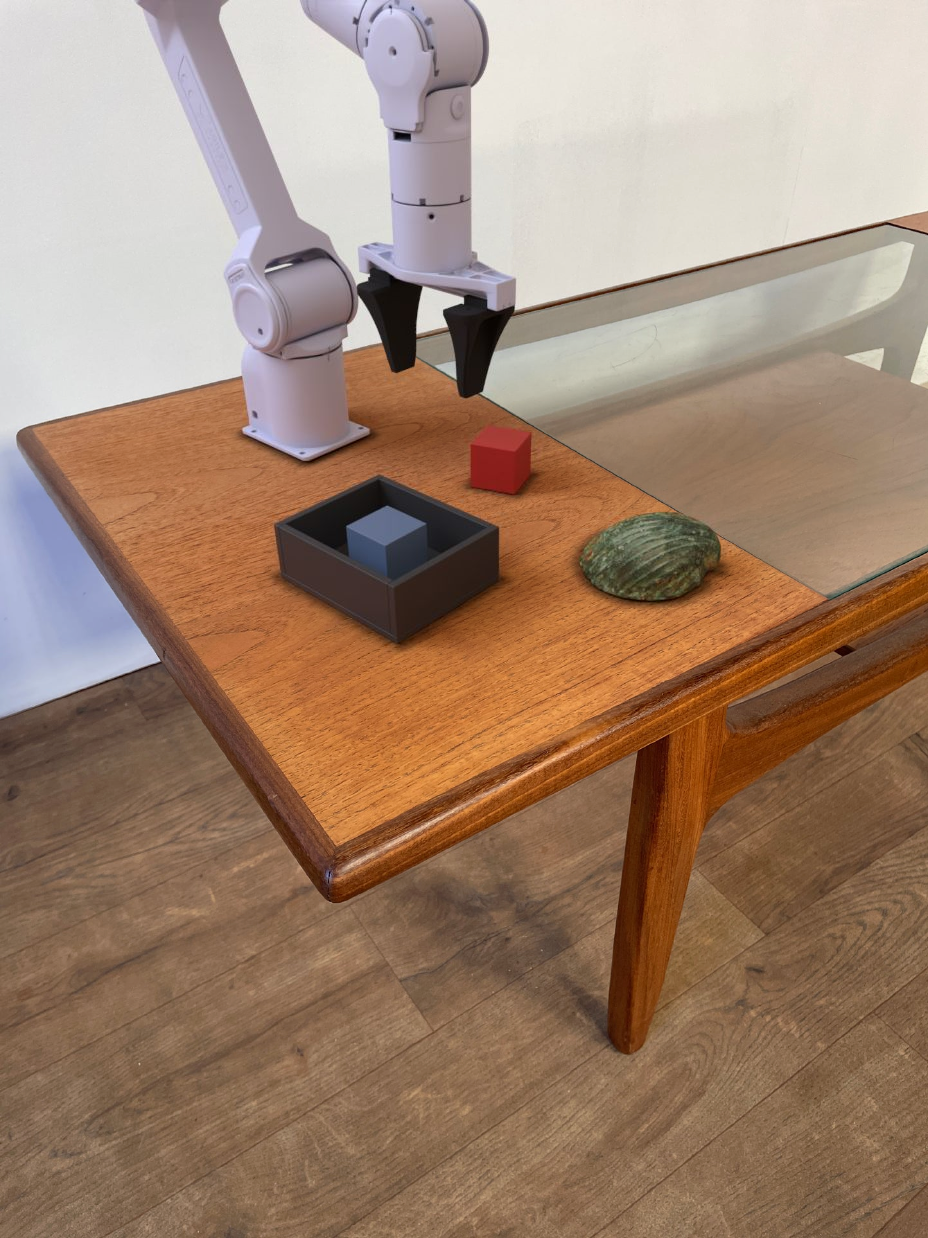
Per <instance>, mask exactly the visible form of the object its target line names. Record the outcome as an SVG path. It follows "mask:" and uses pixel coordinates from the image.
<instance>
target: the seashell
mask: <svg viewBox="0 0 928 1238" xmlns="http://www.w3.org/2000/svg"><path fill="white" fill-rule="evenodd" d="M721 554H722V545H721V542H720V539H719V537H718V534H717V533H716V532H715V530H714V529H712V527H710V525H708V524H706V523H705V522H703V521H701V520H700V519H697V518H695V517H693V516H690V515H687V514H683V513H679V512H674V511H655V512H648V513H642V514H638V515H634V516H631V517H628V518H625V519H623V520H620V521H618V522H616V523H614V524H611V525H610V526H608V527H607V528H606V529H604V530H602V531H600V532H599V533H598V534H597V535H595V536H594V537H593V538H591V540H590V541H589V542H588V543H587V545H586V546H585V547H584V549H583V553H582V555H581V556H580V559H581V560H580V562H579V566H581V567H582V572H583V573H584V576H585V577H586V578H587V579H588V580H590V583H591V584H592V586H594V587H595V588H596V589H597V590H602V591H603V592H605V593H608V594H610V595H614V596H616V597H620V598H623V599H628V600H629V599H630V600H638V601H648V602H650V601H662V600H671V599H676V598H679V597H681V596H684V595H685V594H687V593H688V592H689V593H690V592H691V591H692V590H693V589H694V588H696V587H697V588H698V587H699V586H700V585H701V584H702V583H703V579H704V578H705V576H706V573H708V572H710V571H715V570H716V569H717V567H718V565H719V563H720V560H721V556H722V555H721Z"/></svg>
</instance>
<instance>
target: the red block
mask: <svg viewBox="0 0 928 1238" xmlns="http://www.w3.org/2000/svg"><path fill="white" fill-rule="evenodd" d="M532 436H533V435H532V431H528V430H523V429H522V430H521V429H516V428H515V429H514V428H509V427H503V426H496V425H490V424H487V425H486V426H485V427H484V428H483V429H482V430H481V432H480V433H479V434H478V435H476V437H474V439H473V440H472V441H471V442H470V444H469V448H470V449H469V451H470V452H469V454H470V455H469V456H470V464H469V465H470V487H471V488H476V489H482V490H485V491H486V490H487V491H493V492H496V493H497V492H498V493H504V494H509V495H516V493H517V492H518V491H519V490H520V488H521V487H522V486H523V485H524V484H525V482H526V481H527V479H528V478H530V475H531V470H532V469H531V467H532V466H531V465H532V464H531V463H532V461H531V460H532V438H533V437H532Z"/></svg>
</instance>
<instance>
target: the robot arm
mask: <svg viewBox="0 0 928 1238" xmlns="http://www.w3.org/2000/svg"><path fill="white" fill-rule="evenodd" d="M229 1H230V0H134V2H135V4H136V5H138V6H139V7H140V8H142V12H143V15H144V18H145V21H146V23H147V26H148V29H149V31H150V33H151V36H152V38H153V41H154V43H155V46H156V48H157V50H158V53H159V54H160V57H161V60H162V62H163V64H164V67H165V69H166V71H167V74H168V76H169V78H170V81H171V83H172V85H173V88H174V90H175V92H176V95H177V97H178V99H179V102H180V105H181V108H182V109H183V111H184V114H185V116H186V119H187V121H188V123H189V126H190V128H191V130H192V133H193V136H194V138H195V140H196V143H197V144H198V148H199V150H200V152H201V154H202V156H203V159H204V161H205V164H206V166H207V168H208V171H209V173H210V175H211V178H212V180H213V183H214V185H215V187H216V189H217V192H218V194H219V196H220V197H219V198H220V199H221V201H222V203H223V206H224V208H225V210H226V214H227V215H228V218H229V220H230V222H231V224H232V227H233V230H234V232H235V235H236V236H237V239H238V241H237V244H236V246H235V247H234V250H233V251H232V254H231V256H230V257H229V259H228V261H227V263H226V265H225V267H224V270H223V273H222V276H223V278H224V281H225V283H226V285H227V287H228V291H229V294H230V299H231V305H232V306H231V307H232V313H233V318H234V322H235V324H236V327H237V328H238V330H239V333H240V334H241V336H243V338H244V339H245V340H246V341H247V342H248V343H247V344H246V346H245V347H244V350H243V352H242V353H243V354H242V357H241V363H240V369H241V376H242V384H243V390H244V396H245V397H244V398H245V403H246V410H247V416H248V423H249V424H248V425H246V426H244V427H242V429H241V430H242V434H244V435H246V436H248V437H250V438H252V439H255V440H257V441H259V442H261V443H264V444H266V445H268V446H270V447H272V448H274V449H276V450H279V451H281V452H283V453H285V454H287V455H290V456H292V457H294V458H297V459H298V460H301V461H303V462H309V461H312V460H314V459H317V458H318V457H321V456H323V455H325V454H329V453H330V452H333V451H335V450H337V449H340V448H341V447H344V446H346V445H349V444H351V443H353V442H355V441H357V440H360V439H362V438H365V437H366V436H369V435H370V434H371V430H370V428H368V427H366V426H363V425H361V424H358V423H357V422H354V421H351V420H350V418H349V407H348V406H349V405H348V393H347V383H346V382H347V381H346V372H345V371H346V370H345V360H344V349H343V348H344V347H343V340H344V339H346V338H348V337H349V332H348V331H349V330H348V326H349V324H351V323H352V322H353V321H354V319H355V318H356V316H357V313H358V310H359V298H360V300H361V301H362V303H363V305H364V306H365V308H366V309H367V311H368V313H369V315H370V317H371V319H372V321H373V323H374V325H375V327H376V329H377V333H378V336H379V337H380V340H381V343H382V347H383V351H384V352H385V356H386V359H387V362H388V366H389V369H390V371H391V372H392V373H393V374H399V373H401V372H405V371H407V370H410V369H412V368H414V367H415V364H416V361H417V327H418V326H417V323H418V315H419V307H420V301H421V296H422V291H423V289H424V287H425V288H428V289H432V290H435V291H438V292H442V293H446V294H449V295H452V296H455V297H460V298H463V303H462V302H461V303H458V304H455V305H452V306H449V307H446V308H443V309H442V316H443V318H444V320H445V323H446V326H447V329H448V332H449V335H450V338H451V342H452V348H453V353H454V360H455V361H454V362H455V378H456V388H457V392H458V396H459V397H460V398H461V399H462V398H463V399H469V398H471V397H475V396H476V395H479V394H481V393H483V392H484V390H485V385H486V381H487V377H488V374H489V368H490V366H491V362H492V360H493V355H494V353H495V350H496V347H497V346H498V343H499V340H500V338H501V336H502V335H503V332H504V330H505V328H506V327H507V325H508V323H509V321H510V319H511V318H512V316H513V315H514V313H515V311H516V300H517V298H516V297H517V278H516V277H514V276H511V275H508V274H505V273H503V272H501V271H498V270H496V269H494V268H493V267H491V266H489V265H487V264H485V263H483V262H481V261H480V260H478V252H477V251H473V249H472V244H473V243H472V240H473V239H472V235H473V234H472V88H473V87H475V86H476V85H477V84H478V82H479V81H480V80H481V78H482V77H483V76H484V73H485V71H486V69H487V65H488V61H489V55H490V39H489V30H488V28H487V24H486V21H485V19H484V16H483V14H482V12H481V11H480V10H479V8H478V7H477V6H476V5H475V3H474V2H472V1H471V0H299V3H300V6H301V9H302V11H303V14H304V15H305V16H306V17H307V19H308V20H309V21H310V22H312V23H313V24H314V25H316V26H317V27H318V28H320V29H321V30H322V31H323V32H325V33H326V34H328V35H329V36H330V37H332V38H333V39H334V40H336V41H337V42H338V43H340V44H342V45H343V46H344V47H345V48H347V49H348V50H349V51H351V52H352V53H354V54H355V55H356V56H358V58H360V59H362V60H363V61H364V65H365V69H366V73H367V75H368V78H369V80H370V82H371V83H372V85H373V87H374V89H375V92H376V94H377V97H378V103H379V117H380V119H382V121H383V126H384V127H385V128H386V129H387V148H388V168H389V170H388V171H389V186H390V187H389V188H390V211H391V229H392V230H391V231H392V244H390V243H383V242H378V241H373V242H370V243H366V244H362V245H359V246H357V257H358V258H357V259H358V270H359V272H360V273H363V274H364V275H365V274H366V275H369V276H367V280H366V281H362V282H359V283H357V284H356V281H355V278H354V275H353V274H352V271H351V270H350V269H349V267H348V266H347V264H346V263H345V262H344V261H343V260H342V259H341V258H340V256H339V255H338V253H337V251H336V250H335V247H334V245H333V242H332V240H331V237H330V235H329V234H327V233H326V232H325V231H322V229H319V228H317V227H316V226H314V225H312V224H311V223H308V222H306V221H305V220H303V219H302V218H301V217H299V215H298V212H297V211H296V207H295V206H294V202H293V200H292V198H291V195H290V193H289V190H288V188H287V185H286V183H285V181H284V178H283V176H282V175H283V174H282V173H281V170H280V168H279V165H278V163H277V161H276V158H275V155H274V153H273V151H272V148H271V146H270V143H269V141H268V139H267V136H266V133H265V131H264V128H263V126H262V124H261V120H260V119H259V116H258V114H257V110H256V109H255V106H254V104H253V102H252V98H251V97H250V94H249V92H248V89H247V87H246V84H245V82H244V79H243V77H242V74H241V72H240V69H239V67H238V64H237V61H236V59H235V56H234V55H233V52H232V49H231V47H230V44H229V42H228V39H227V37H226V34H225V31H224V30H223V29H224V28H223V27H222V25H221V21H220V14H221V9H222V7H223V6H224V5H225V4H226V3H228V2H229ZM283 265H286V266H283ZM280 266H283V267H280ZM276 267H279V268H276ZM273 268H276V269H273ZM269 269H273V270H269ZM266 270H269V271H266Z"/></svg>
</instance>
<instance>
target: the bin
mask: <svg viewBox="0 0 928 1238" xmlns="http://www.w3.org/2000/svg"><path fill="white" fill-rule="evenodd" d="M385 506H389V507H392V508H394V509H396V510H398V511H400V512H402V513H405V514H407V515H409V516H411V517H413V518H415V519H417V520H420V521H422V522H424V523H426V524H427V549H428V562H426V563H424V564H423V565H421V566H419V567H417V568H416V569H414V570H412V571H410V572H409V573H407V574H405V575H403V576H401V577H400V578H398V579H396V580H394V581H393V580H392V579H390V578H388V577H386V576H384V575H382V574H380V573H378V572H376V571H374V570H372V569H371V568H369V567H367V566H365V565H363V564H361V563H359V562H357V561H355V560H353V559H351V558H350V557H349V550H348V540H347V529H346V526H348V525H350V524H352V523H354V522H356V521H358V520H360V519H362V518H364V517H366V516H368V515H369V514H371V513H373V512H375V511H377V510H379V509H381V508H383V507H385ZM273 526H274V527H273V529H274V536H275V543H276V550H277V556H278V562H279V563H278V565H279V570H280V577H281V578H282V579H283V580H285V581H287V582H288V583H291V584H292V585H294V586H296V587H297V588H299V589H301V590H302V591H304V592H306V593H308V594H309V595H311V596H313V597H315V598H317V599H318V600H320V601H322V602H323V603H325V604H327V605H329V606H331V607H332V608H334V609H336V610H337V611H339V612H341V613H343V614H345V615H346V616H348V617H349V618H352V619H353V620H355V621H357V622H359V623H360V624H362V625H363V626H365V627H367V628H369V629H371V630H372V631H374V632H376V633H377V634H379V635H381V636H383V637H384V638H386V639H388V640H390V641H391V642H393V643H395V644H396V645H398V644H400V643H402V642H404V641H405V640H407V639H408V638H410V637H411V636H412V635H414V634H416V633H418V632H419V631H421V630H423V629H424V628H426V627H427V626H429V625H430V624H432V623H434V622H436V621H437V620H438V619H440V618H442V617H443V616H445V615H447V614H448V613H449V612H451V611H453V610H455V609H456V608H458V607H459V606H461V605H462V604H464V603H466V602H467V601H469V600H471V599H472V598H474V597H476V596H477V595H478V594H481V592H483V591H485V590H486V589H488V588H489V587H492V585H494V584H496V583H497V582H499V580H500V579H499V578H500V576H499V575H500V568H499V567H500V526H498V525H495V524H493V523H491V522H489V521H488V520H487V521H486V520H485V519H482V518H481V517H478V516H475V515H473V514H471V513H469V512H466V511H464V510H462V509H460V508H457V507H455V506H453V505H450V504H448V503H447V502H444V501H442V500H439V499H436V498H434V497H432V496H430V495H428V494H425V493H423V492H421V491H418V490H416V489H414V488H412V487H409V486H407V485H406V484H403V483H400V482H398V481H397V480H393V479H391V478H389V477H387V476H384V475H382V474H380V473H379V474H377V475H374V476H372V477H369V478H368V479H366V480H365V481H361V482H360V483H358V484H355V485H353V486H351V487H349V488H347V489H345V490H343V491H340V492H339V493H336V494H334V495H332V496H330V497H328V498H326V499H324V500H322V501H319V502H317V503H315V504H313V505H311V506H309V507H307V508H304V509H302V510H300V511H298V512H296V513H293V514H292V515H290V516H288V517H286V518H283V519H281V520H279V521H277V522H275V523H274V524H273Z"/></svg>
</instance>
